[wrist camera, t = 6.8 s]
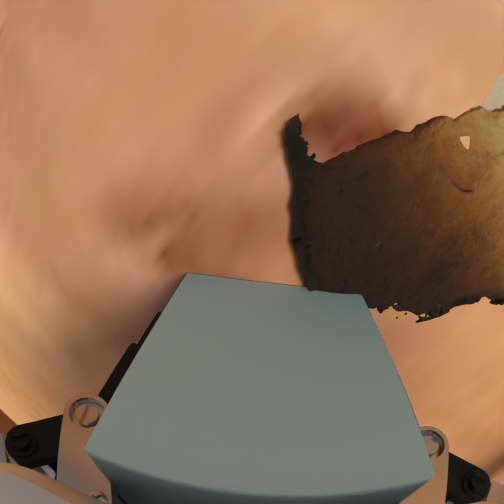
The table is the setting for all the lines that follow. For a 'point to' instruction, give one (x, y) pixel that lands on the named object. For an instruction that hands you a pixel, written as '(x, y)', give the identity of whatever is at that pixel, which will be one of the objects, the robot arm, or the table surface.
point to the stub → (261, 403)
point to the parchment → (407, 213)
